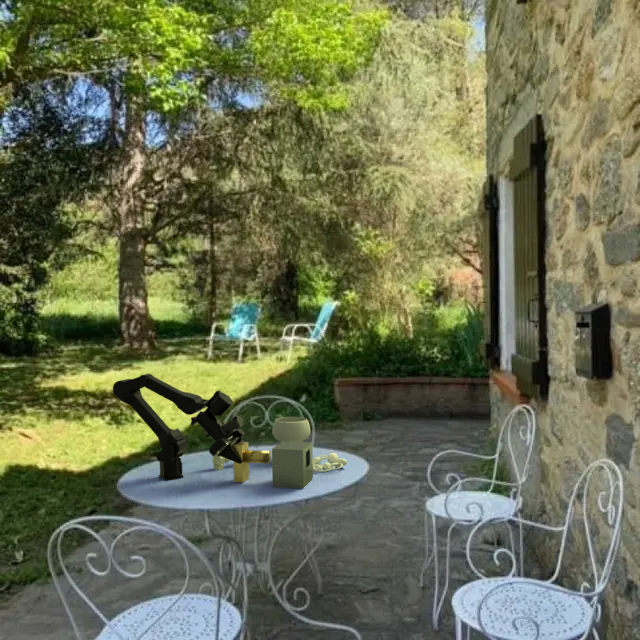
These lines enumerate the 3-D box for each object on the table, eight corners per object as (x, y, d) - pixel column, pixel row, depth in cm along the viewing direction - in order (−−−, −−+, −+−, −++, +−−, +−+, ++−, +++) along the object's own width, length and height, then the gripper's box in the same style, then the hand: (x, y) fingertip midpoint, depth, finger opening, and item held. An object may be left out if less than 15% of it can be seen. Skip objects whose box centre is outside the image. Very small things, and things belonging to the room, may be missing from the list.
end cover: (233, 481, 217) (233, 445, 217) (240, 477, 223) (239, 441, 223) (266, 483, 214) (265, 446, 214) (272, 478, 220) (271, 442, 220)
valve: (218, 471, 232) (247, 466, 240) (217, 452, 232) (247, 447, 240) (208, 468, 237) (237, 463, 245) (208, 449, 237) (236, 444, 245)
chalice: (307, 464, 240) (306, 422, 240) (269, 464, 242) (268, 422, 242) (313, 456, 254) (313, 416, 254) (277, 455, 256) (276, 416, 256)
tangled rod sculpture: (300, 481, 222) (299, 469, 222) (284, 468, 235) (283, 457, 235) (352, 473, 230) (352, 461, 230) (334, 461, 243) (334, 450, 243)
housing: (272, 487, 211) (271, 449, 211) (283, 477, 222) (282, 441, 222) (303, 488, 208) (302, 450, 208) (313, 478, 220) (312, 442, 220)
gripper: (217, 413, 211) (251, 449, 209) (238, 404, 229) (270, 438, 227) (194, 437, 213) (228, 474, 211) (217, 427, 231) (248, 460, 229)
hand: (245, 460), depth 219 cm, fingers closed on end cover, 6 cm apart
